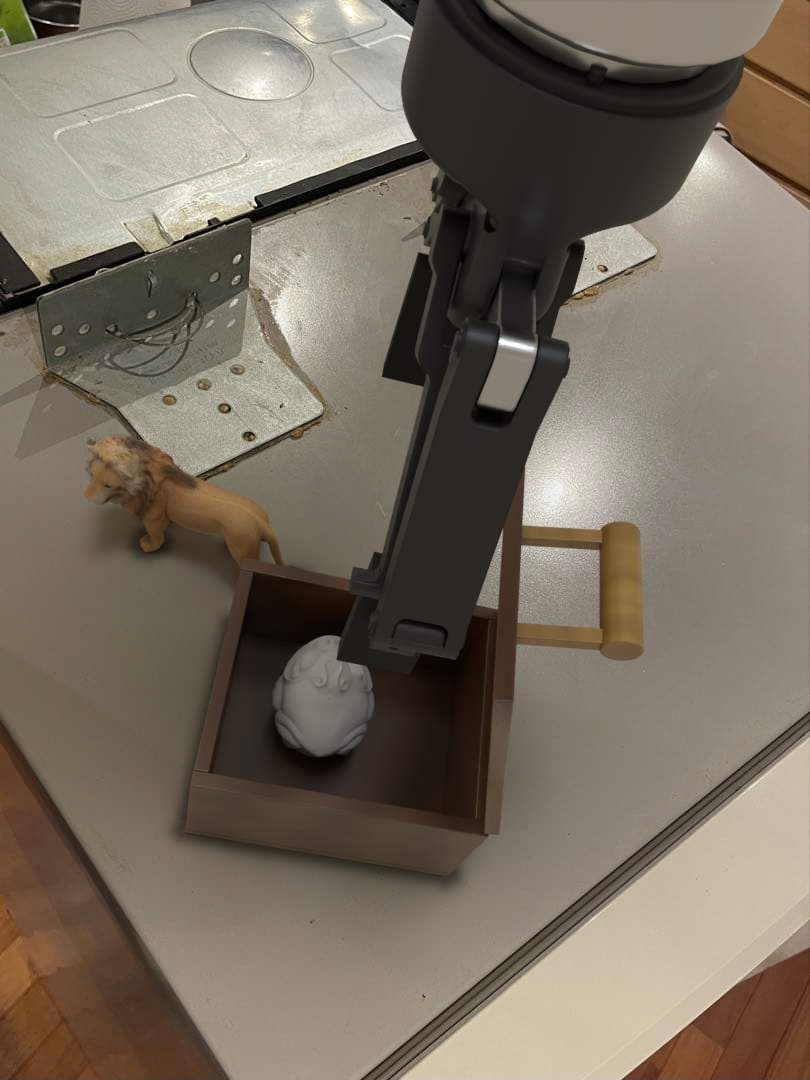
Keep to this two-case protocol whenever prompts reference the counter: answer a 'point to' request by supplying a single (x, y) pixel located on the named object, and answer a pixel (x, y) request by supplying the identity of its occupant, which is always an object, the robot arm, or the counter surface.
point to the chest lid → (612, 638)
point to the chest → (368, 769)
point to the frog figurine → (322, 701)
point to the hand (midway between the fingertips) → (395, 505)
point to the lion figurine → (173, 497)
